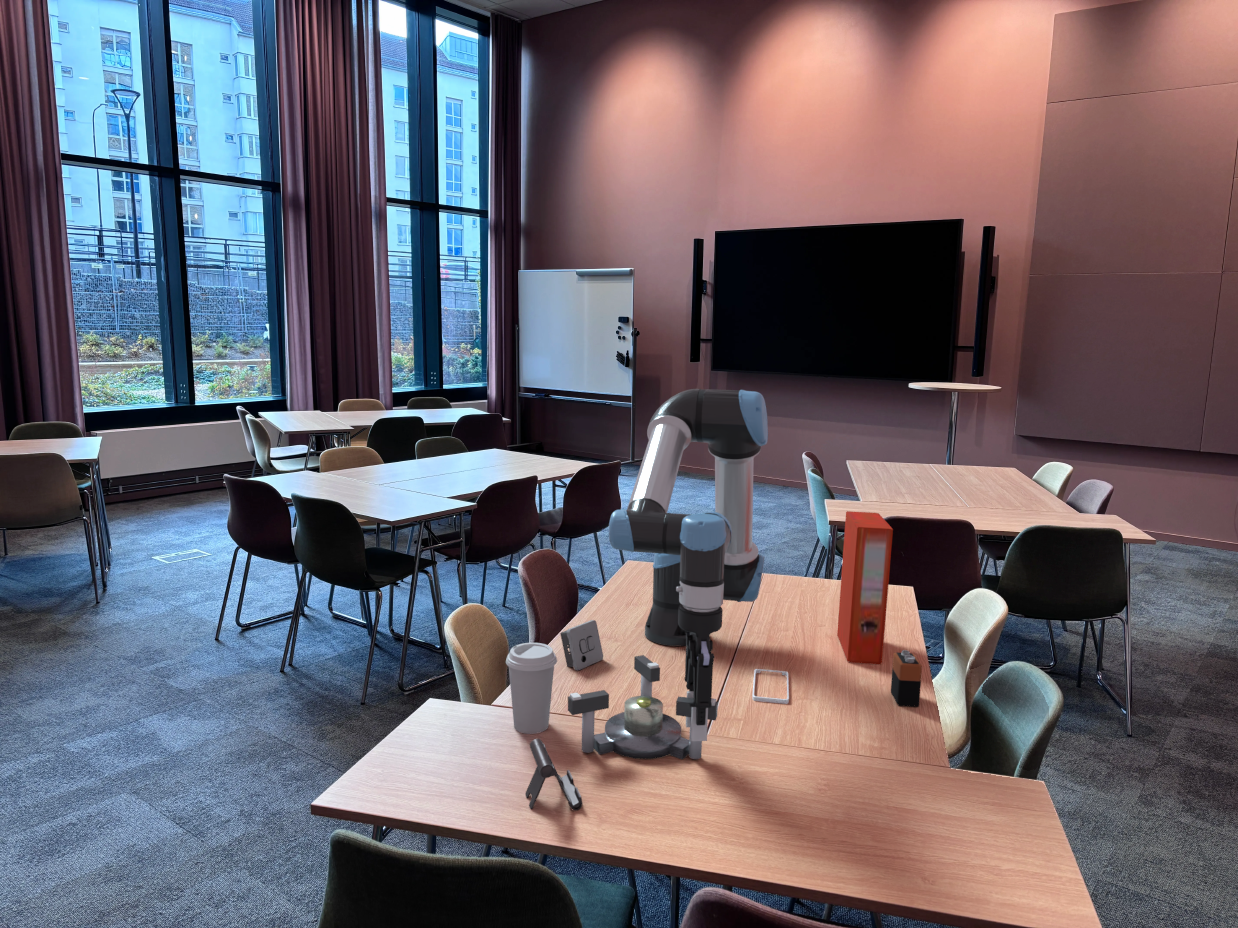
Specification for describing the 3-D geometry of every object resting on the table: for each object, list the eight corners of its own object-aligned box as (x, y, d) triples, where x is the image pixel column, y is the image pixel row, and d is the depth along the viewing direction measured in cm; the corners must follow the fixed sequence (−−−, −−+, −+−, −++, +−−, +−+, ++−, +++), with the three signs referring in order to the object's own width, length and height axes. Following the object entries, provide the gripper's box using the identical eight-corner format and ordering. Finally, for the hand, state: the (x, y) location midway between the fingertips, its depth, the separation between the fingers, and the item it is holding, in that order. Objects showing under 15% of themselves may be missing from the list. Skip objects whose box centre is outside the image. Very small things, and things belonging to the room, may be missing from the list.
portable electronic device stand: (582, 810, 129) (583, 760, 128) (532, 817, 127) (533, 767, 126) (569, 781, 138) (570, 734, 137) (522, 787, 136) (522, 740, 134)
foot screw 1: (603, 742, 150) (604, 686, 148) (608, 748, 148) (609, 691, 146) (567, 750, 147) (567, 693, 145) (571, 756, 145) (572, 698, 143)
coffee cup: (535, 709, 164) (535, 637, 161) (566, 726, 157) (567, 651, 155) (495, 724, 157) (495, 649, 155) (527, 742, 150) (527, 664, 148)
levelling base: (638, 711, 164) (639, 674, 162) (712, 735, 154) (713, 696, 153) (582, 748, 149) (582, 707, 148) (660, 777, 140) (661, 734, 138)
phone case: (788, 706, 169) (788, 677, 183) (788, 699, 168) (788, 671, 183) (752, 702, 170) (754, 674, 185) (752, 696, 170) (754, 668, 184)
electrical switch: (577, 672, 182) (574, 631, 182) (559, 668, 186) (557, 627, 185) (604, 660, 190) (602, 620, 189) (587, 656, 193) (584, 617, 192)
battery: (897, 706, 168) (901, 659, 167) (889, 692, 175) (893, 647, 173) (919, 707, 168) (923, 660, 166) (911, 693, 175) (914, 648, 173)
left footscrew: (674, 755, 146) (676, 698, 144) (676, 749, 148) (678, 693, 146) (713, 761, 144) (716, 703, 142) (715, 755, 146) (718, 698, 145)
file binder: (870, 637, 207) (878, 512, 202) (883, 664, 190) (893, 528, 185) (837, 635, 208) (844, 511, 203) (847, 662, 191) (855, 526, 186)
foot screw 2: (632, 705, 166) (634, 654, 164) (642, 703, 167) (643, 652, 165) (649, 719, 159) (650, 666, 158) (659, 717, 160) (660, 665, 159)
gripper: (671, 589, 150) (667, 711, 154) (687, 622, 133) (683, 758, 137) (712, 589, 151) (707, 710, 154) (733, 622, 134) (727, 757, 137)
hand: (696, 732), depth 145 cm, fingers open, 4 cm apart
